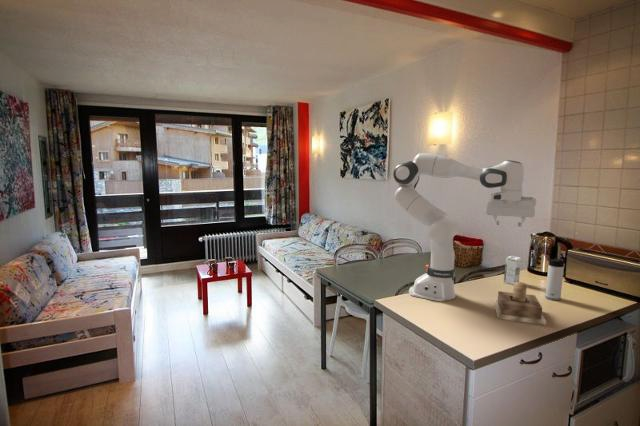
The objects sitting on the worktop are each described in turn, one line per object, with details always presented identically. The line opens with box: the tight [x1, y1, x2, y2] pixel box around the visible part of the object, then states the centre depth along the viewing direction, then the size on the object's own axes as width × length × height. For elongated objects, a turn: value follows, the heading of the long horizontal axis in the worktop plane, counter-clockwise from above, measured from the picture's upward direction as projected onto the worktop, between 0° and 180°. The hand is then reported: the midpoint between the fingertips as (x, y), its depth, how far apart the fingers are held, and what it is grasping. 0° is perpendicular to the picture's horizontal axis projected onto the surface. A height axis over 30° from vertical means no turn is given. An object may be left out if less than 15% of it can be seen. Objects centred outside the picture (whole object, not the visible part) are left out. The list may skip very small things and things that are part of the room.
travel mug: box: [545, 258, 565, 302], centre depth 178 cm, size 6×7×20 cm
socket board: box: [493, 290, 547, 326], centre depth 162 cm, size 18×18×6 cm
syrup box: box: [503, 255, 522, 286], centre depth 201 cm, size 6×6×14 cm
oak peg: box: [512, 281, 528, 303], centre depth 162 cm, size 5×5×12 cm
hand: (508, 225), depth 171 cm, fingers open, 8 cm apart
